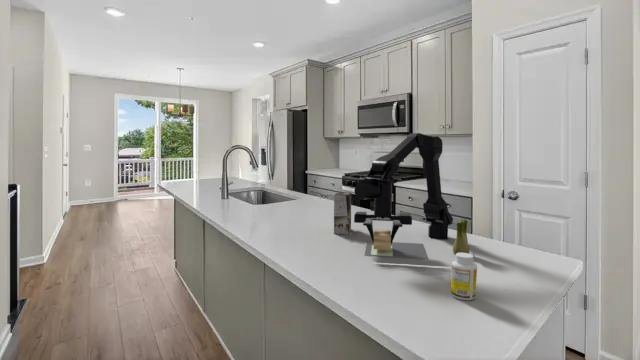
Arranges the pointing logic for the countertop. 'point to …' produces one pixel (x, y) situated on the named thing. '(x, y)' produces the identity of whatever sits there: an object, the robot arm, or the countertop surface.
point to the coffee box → (342, 213)
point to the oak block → (382, 239)
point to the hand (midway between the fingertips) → (382, 243)
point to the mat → (398, 251)
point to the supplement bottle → (464, 277)
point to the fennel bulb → (461, 238)
